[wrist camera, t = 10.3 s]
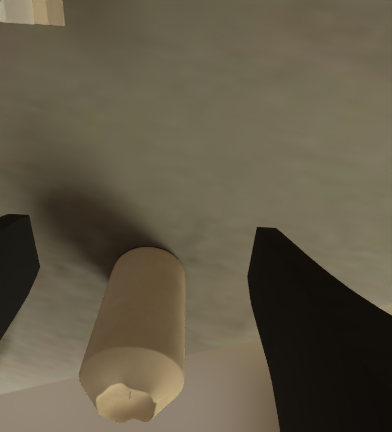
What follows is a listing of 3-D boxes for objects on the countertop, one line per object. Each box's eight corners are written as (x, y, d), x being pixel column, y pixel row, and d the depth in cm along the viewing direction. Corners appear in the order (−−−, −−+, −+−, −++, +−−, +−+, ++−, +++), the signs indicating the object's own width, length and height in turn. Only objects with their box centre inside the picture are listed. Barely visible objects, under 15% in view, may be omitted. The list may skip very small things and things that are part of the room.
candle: (153, 232, 22) (131, 357, 14) (200, 280, 25) (206, 414, 16) (97, 270, 24) (45, 403, 15) (145, 312, 26) (124, 449, 17)
